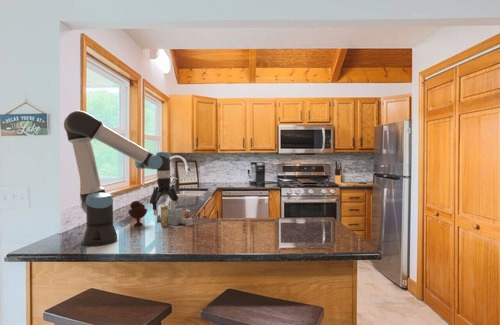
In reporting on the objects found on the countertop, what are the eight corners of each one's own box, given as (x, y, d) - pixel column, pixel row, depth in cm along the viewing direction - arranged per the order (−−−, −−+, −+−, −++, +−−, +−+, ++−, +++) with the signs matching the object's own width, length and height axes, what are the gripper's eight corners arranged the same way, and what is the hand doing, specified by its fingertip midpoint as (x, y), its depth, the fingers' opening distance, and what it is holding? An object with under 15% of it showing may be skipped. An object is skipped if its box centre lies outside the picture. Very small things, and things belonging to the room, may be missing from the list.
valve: (185, 226, 180) (185, 211, 179) (154, 222, 193) (154, 208, 192) (201, 221, 192) (201, 207, 192) (172, 218, 206) (171, 204, 205)
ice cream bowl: (144, 227, 179) (143, 201, 179) (125, 227, 179) (124, 202, 179) (150, 223, 189) (149, 199, 189) (132, 223, 190) (132, 199, 189)
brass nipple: (164, 227, 179) (164, 206, 178) (159, 226, 181) (159, 206, 180) (169, 225, 182) (169, 205, 182) (164, 225, 184) (164, 205, 184)
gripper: (151, 179, 168) (152, 217, 169) (183, 176, 190) (184, 210, 190) (142, 179, 172) (143, 216, 172) (174, 176, 193) (175, 209, 194)
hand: (164, 213), depth 181 cm, fingers open, 13 cm apart
